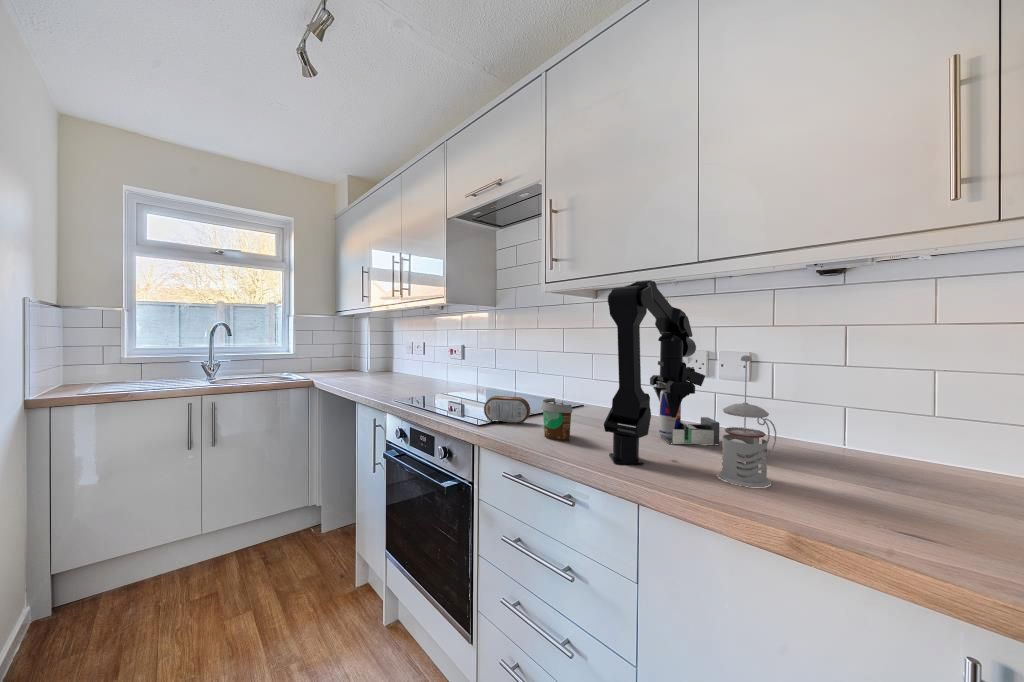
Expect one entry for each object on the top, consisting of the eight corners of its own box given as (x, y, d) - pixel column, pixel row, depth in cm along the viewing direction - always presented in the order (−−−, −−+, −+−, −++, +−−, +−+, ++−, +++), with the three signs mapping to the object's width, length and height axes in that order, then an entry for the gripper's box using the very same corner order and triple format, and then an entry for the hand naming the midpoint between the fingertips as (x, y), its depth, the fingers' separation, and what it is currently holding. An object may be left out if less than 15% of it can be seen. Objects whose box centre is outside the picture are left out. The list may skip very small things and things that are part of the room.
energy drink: (669, 437, 107) (670, 392, 107) (654, 433, 112) (655, 389, 112) (684, 436, 109) (685, 391, 109) (669, 431, 114) (670, 389, 114)
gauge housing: (719, 445, 106) (720, 423, 106) (668, 444, 107) (669, 421, 107) (707, 438, 113) (708, 417, 113) (660, 437, 114) (660, 416, 114)
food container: (533, 432, 118) (534, 398, 118) (553, 431, 120) (553, 397, 119) (550, 444, 106) (551, 406, 106) (571, 442, 108) (572, 405, 108)
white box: (700, 441, 106) (701, 426, 106) (685, 440, 106) (686, 425, 106) (689, 434, 113) (689, 420, 113) (675, 433, 113) (676, 419, 113)
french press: (705, 472, 85) (708, 353, 85) (752, 469, 88) (755, 354, 87) (741, 490, 76) (744, 356, 75) (793, 486, 78) (796, 356, 78)
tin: (530, 422, 131) (530, 396, 131) (528, 424, 128) (529, 398, 128) (485, 420, 134) (485, 395, 134) (482, 422, 131) (483, 396, 131)
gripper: (717, 361, 100) (715, 423, 101) (688, 356, 119) (687, 409, 119) (671, 360, 101) (670, 422, 101) (649, 356, 120) (648, 408, 120)
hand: (670, 415), depth 110 cm, fingers closed on energy drink, 5 cm apart
